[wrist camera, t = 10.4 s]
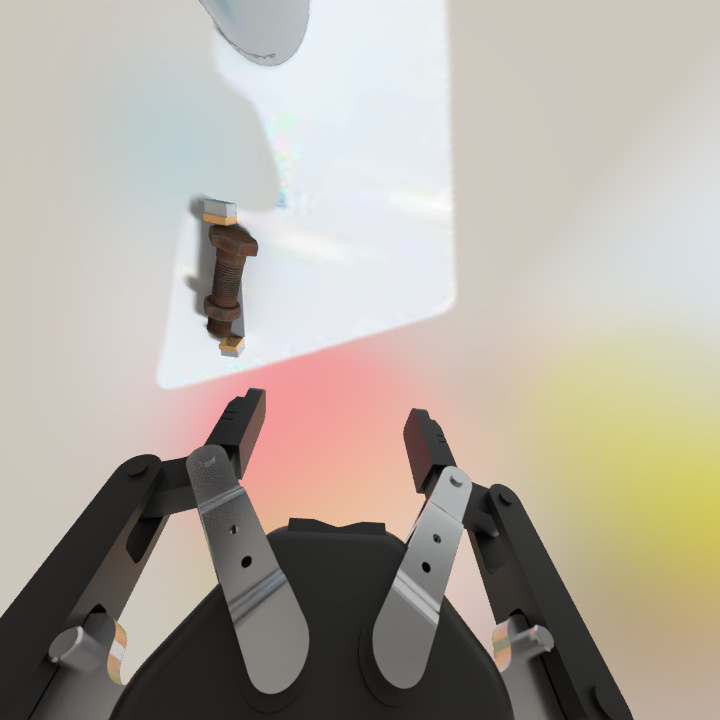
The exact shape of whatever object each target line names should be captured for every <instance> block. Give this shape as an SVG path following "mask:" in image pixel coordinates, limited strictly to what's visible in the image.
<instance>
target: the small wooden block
mask: <svg viewBox="0 0 720 720" xmlns="http://www.w3.org/2000/svg"><path fill="white" fill-rule="evenodd" d="M219 349H221V355H223V356H230V357H239V355H240V354H241V353H242V351H243V350H244V337H239V336H232V335H229V336H228V337H225V338H224V339H223V341H222V342H221V343H220V344H219Z"/></svg>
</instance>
